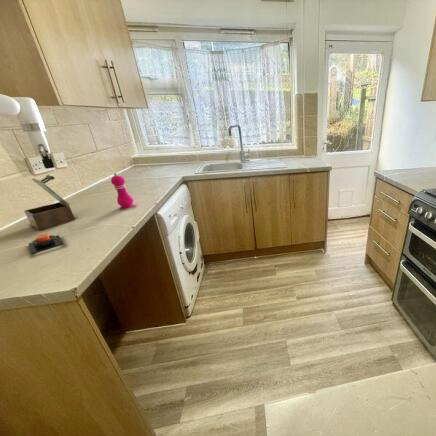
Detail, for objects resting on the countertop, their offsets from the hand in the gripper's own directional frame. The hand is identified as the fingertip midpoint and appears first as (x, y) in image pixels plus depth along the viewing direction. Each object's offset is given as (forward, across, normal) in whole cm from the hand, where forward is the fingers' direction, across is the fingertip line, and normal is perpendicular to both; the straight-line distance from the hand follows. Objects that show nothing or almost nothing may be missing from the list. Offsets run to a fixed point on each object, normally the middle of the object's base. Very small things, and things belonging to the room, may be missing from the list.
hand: (49, 166), depth 115 cm
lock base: (+26, +36, -9) cm, 45 cm away
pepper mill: (+26, +9, +24) cm, 36 cm away
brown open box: (+26, +4, -6) cm, 27 cm away
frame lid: (+11, +3, -3) cm, 12 cm away
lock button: (+22, +36, -9) cm, 43 cm away
